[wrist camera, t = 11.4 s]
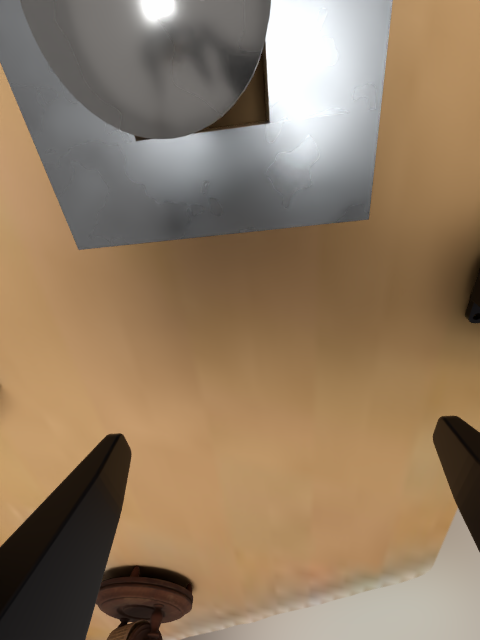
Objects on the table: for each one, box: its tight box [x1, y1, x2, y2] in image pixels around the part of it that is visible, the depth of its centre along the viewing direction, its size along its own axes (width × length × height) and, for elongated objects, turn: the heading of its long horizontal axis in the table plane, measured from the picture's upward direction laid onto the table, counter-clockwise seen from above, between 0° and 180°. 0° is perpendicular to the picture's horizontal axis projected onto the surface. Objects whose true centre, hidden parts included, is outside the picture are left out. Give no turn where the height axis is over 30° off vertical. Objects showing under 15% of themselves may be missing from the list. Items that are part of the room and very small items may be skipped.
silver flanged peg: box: [20, 0, 271, 139], centre depth 10 cm, size 5×5×9 cm
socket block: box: [0, 0, 393, 250], centre depth 12 cm, size 14×14×3 cm
